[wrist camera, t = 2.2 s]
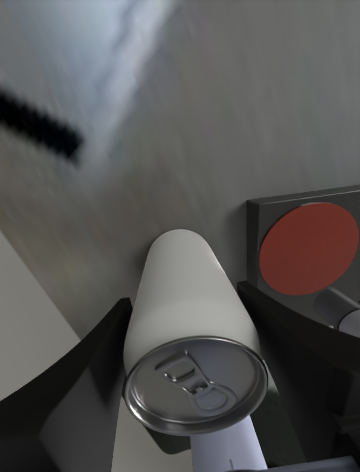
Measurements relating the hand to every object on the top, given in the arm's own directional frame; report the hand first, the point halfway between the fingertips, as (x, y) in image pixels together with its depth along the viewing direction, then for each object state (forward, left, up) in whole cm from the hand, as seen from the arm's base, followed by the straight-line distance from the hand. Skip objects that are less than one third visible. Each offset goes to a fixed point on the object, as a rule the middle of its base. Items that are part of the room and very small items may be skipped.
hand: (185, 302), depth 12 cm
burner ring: (0, -12, -4) cm, 12 cm away
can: (0, 0, -7) cm, 7 cm away
